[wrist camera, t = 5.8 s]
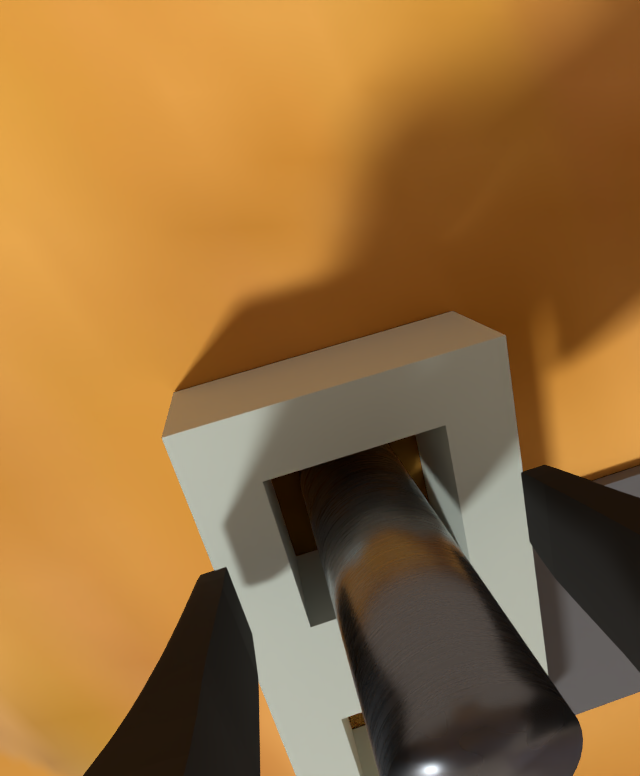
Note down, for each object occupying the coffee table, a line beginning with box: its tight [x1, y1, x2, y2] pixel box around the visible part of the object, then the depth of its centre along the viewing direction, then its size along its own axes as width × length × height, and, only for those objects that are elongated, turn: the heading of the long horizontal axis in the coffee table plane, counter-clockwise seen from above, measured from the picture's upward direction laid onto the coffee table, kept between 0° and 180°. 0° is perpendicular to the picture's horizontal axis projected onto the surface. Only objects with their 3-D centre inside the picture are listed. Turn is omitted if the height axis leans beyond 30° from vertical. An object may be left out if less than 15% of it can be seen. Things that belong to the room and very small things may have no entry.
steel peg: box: [300, 443, 583, 776], centre depth 12 cm, size 3×3×9 cm
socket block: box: [162, 311, 548, 776], centre depth 16 cm, size 16×8×3 cm, turn 14°
